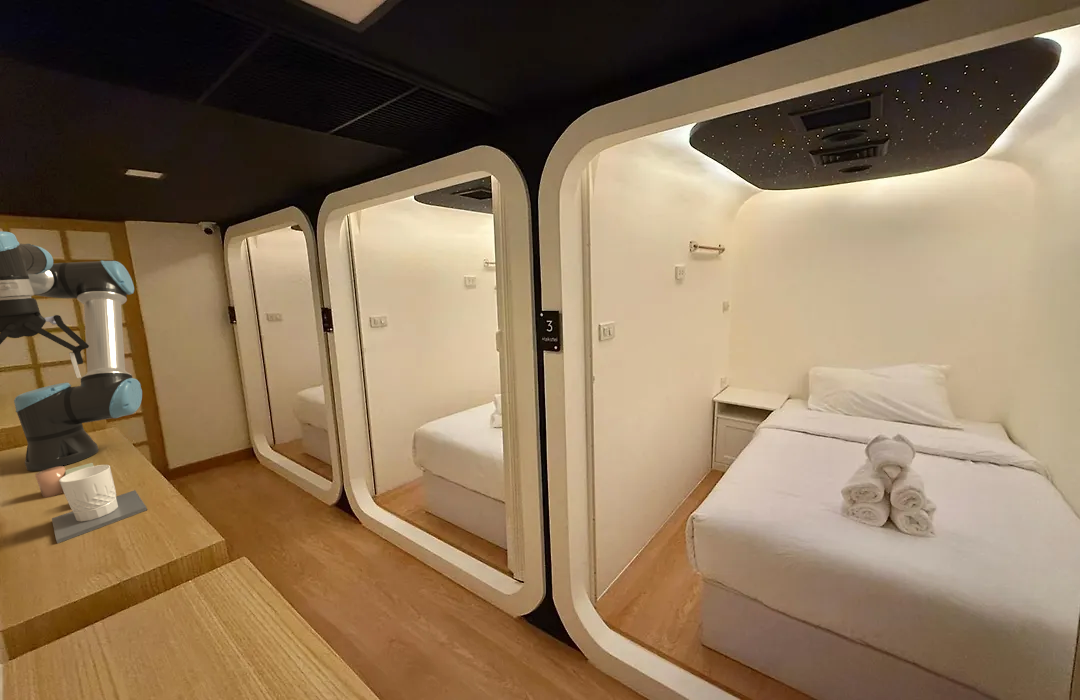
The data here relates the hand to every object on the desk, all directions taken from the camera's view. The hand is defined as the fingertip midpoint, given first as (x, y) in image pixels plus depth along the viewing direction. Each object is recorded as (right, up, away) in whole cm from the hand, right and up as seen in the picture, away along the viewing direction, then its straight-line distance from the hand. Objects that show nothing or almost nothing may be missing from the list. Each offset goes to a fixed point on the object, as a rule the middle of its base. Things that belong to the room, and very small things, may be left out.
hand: (39, 384), depth 105 cm
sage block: (+3, -28, +8) cm, 29 cm away
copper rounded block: (-1, -28, +5) cm, 29 cm away
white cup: (+24, -29, -9) cm, 38 cm away
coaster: (+24, -29, -8) cm, 39 cm away
